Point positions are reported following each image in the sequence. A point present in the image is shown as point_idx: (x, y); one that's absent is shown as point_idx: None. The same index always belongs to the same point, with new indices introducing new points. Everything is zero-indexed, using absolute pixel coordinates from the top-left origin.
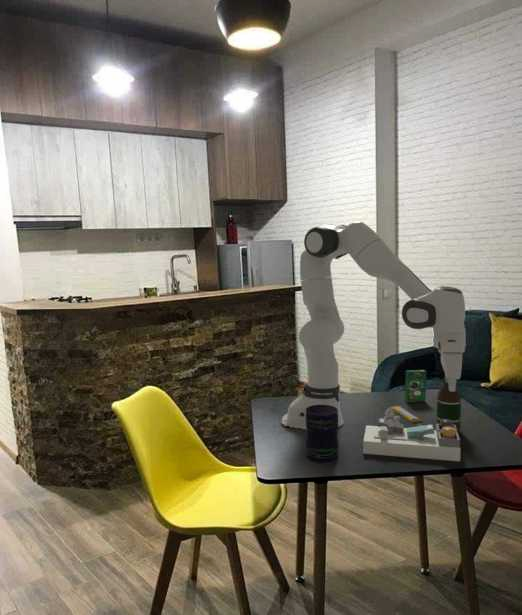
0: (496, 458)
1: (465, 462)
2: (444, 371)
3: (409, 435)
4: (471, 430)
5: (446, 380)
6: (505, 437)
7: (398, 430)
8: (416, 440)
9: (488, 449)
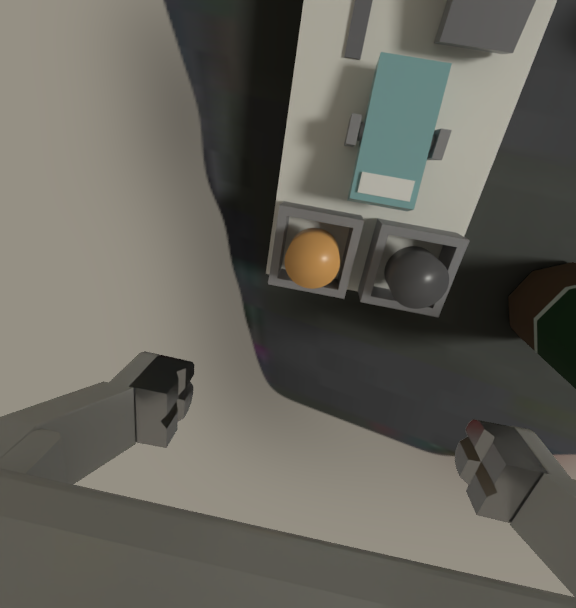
0: (300, 362)
1: None
2: (184, 532)
3: (374, 72)
4: (534, 374)
5: (487, 437)
6: (450, 437)
7: (445, 8)
8: (345, 110)
9: (364, 365)
